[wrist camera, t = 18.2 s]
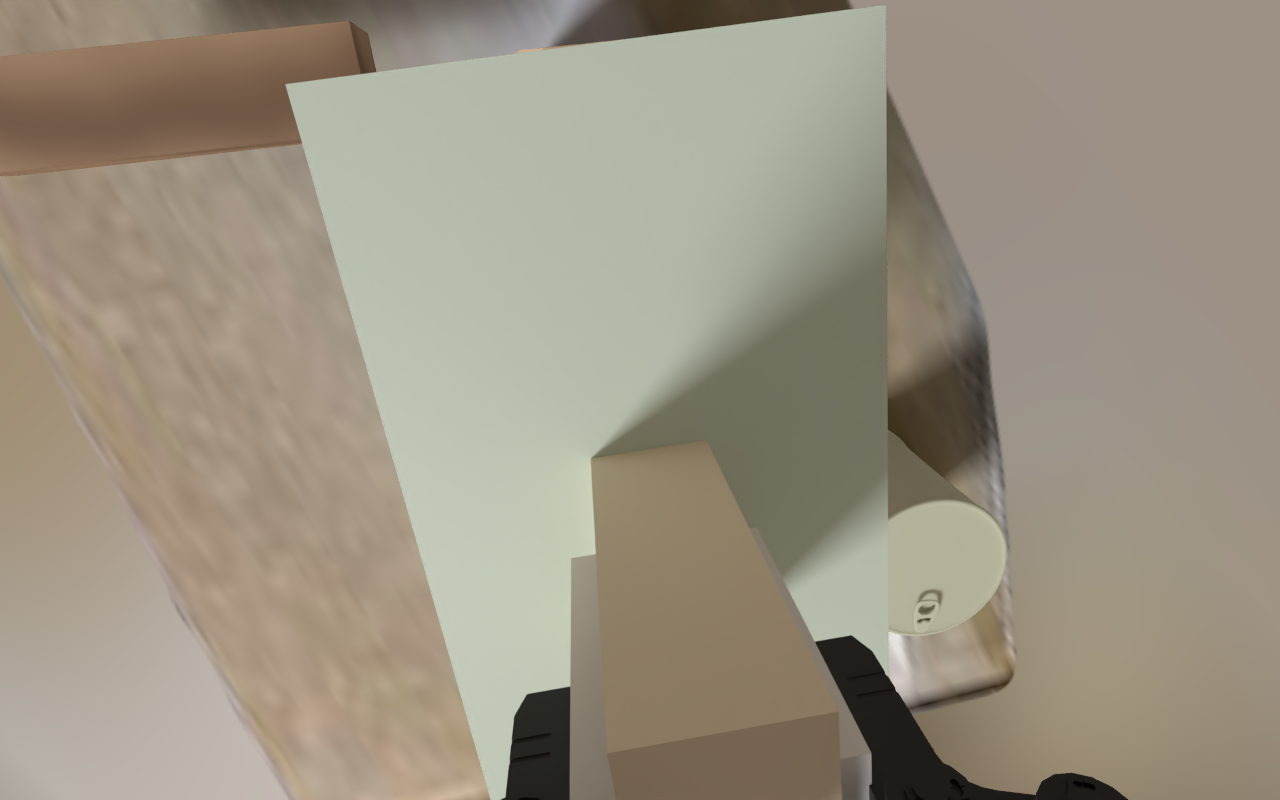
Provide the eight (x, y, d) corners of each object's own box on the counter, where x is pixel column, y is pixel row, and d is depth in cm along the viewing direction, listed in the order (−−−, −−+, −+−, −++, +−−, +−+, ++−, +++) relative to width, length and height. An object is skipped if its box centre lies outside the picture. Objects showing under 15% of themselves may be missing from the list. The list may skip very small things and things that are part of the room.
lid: (307, 90, 14) (-212, -63, 5) (862, 17, 15) (1366, -251, 5) (498, 778, 21) (437, 1268, 12) (872, 710, 22) (1102, 1125, 12)
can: (786, 540, 49) (849, 649, 38) (794, 425, 46) (865, 507, 35) (904, 532, 50) (1000, 637, 39) (920, 420, 47) (1028, 498, 36)
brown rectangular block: (-24, 74, 27) (-81, 64, 25) (367, 33, 28) (348, 20, 26) (17, 175, 29) (-33, 176, 26) (390, 134, 29) (373, 130, 27)
